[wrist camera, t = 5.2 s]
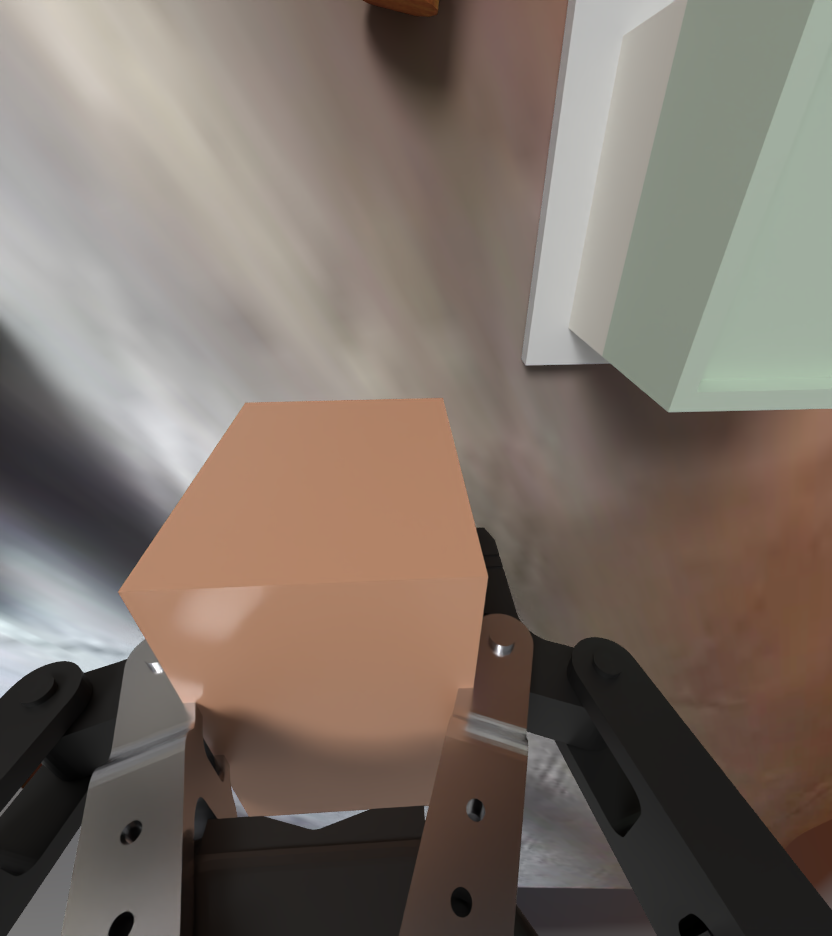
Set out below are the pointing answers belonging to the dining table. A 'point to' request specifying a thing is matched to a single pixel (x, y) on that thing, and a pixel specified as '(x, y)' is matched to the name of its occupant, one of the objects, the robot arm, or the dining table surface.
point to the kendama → (409, 6)
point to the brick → (321, 601)
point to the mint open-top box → (691, 202)
